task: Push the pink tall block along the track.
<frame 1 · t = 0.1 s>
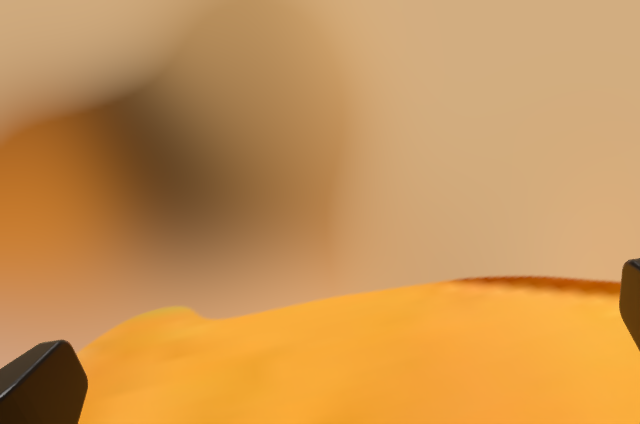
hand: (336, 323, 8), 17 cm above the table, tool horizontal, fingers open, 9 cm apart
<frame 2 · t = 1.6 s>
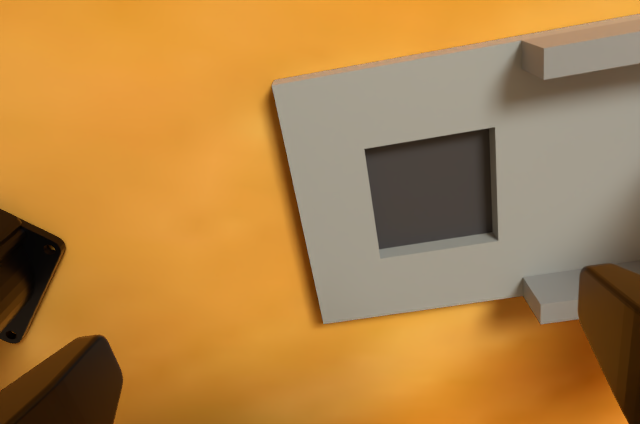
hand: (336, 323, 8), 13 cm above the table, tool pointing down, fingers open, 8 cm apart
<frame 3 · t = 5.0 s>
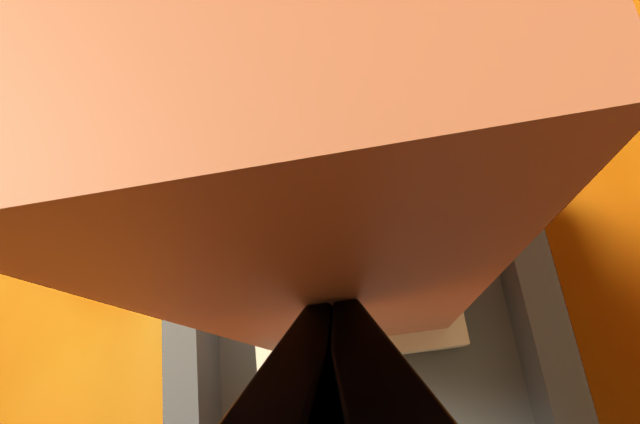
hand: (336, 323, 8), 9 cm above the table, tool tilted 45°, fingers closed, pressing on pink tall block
pink tall block: (323, 186, 10), point 8 cm above the table, slide at 0.9 cm, touching gripper
track: (369, 391, 16), on the table
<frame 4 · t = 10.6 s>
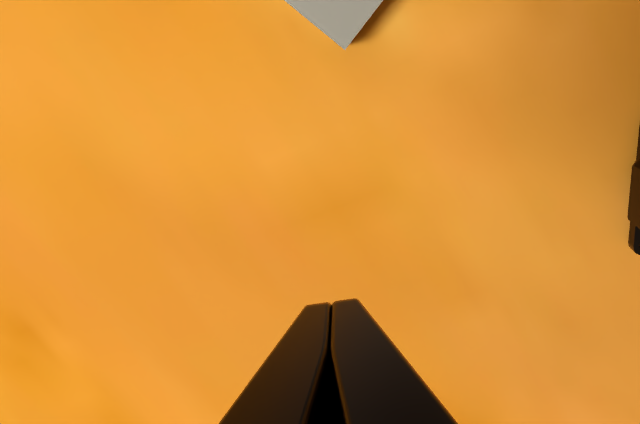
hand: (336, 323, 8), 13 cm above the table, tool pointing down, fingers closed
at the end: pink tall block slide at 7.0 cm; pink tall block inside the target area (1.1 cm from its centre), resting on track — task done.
